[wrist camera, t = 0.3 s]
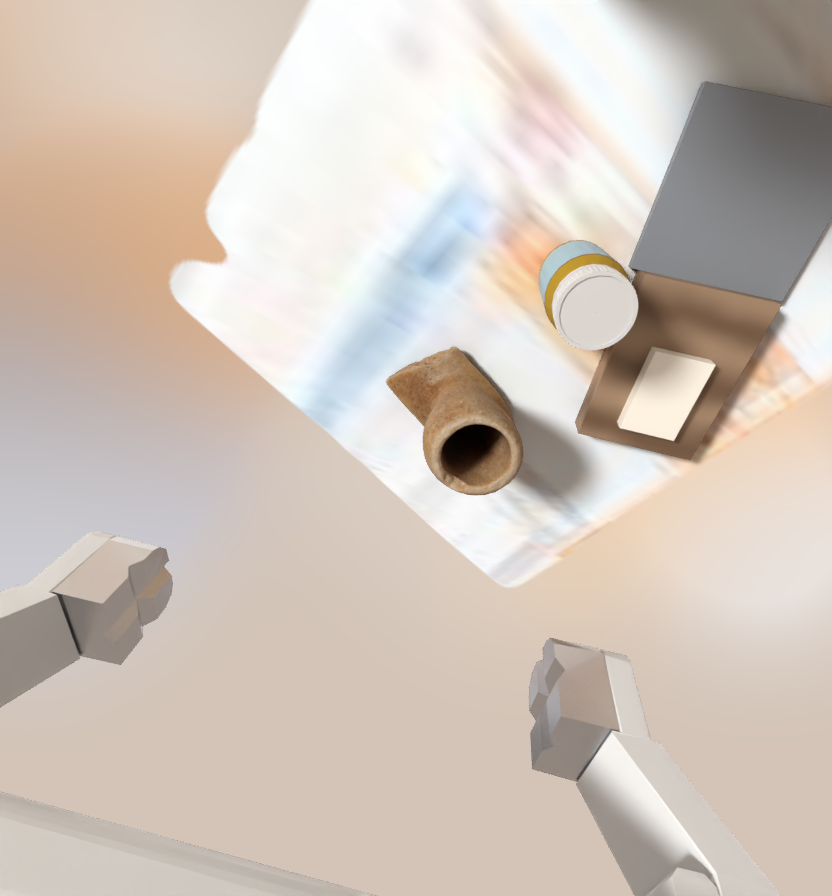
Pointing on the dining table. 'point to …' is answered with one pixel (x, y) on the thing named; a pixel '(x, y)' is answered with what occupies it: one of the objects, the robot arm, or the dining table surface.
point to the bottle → (587, 295)
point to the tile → (664, 393)
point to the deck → (680, 330)
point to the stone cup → (460, 422)
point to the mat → (742, 193)
